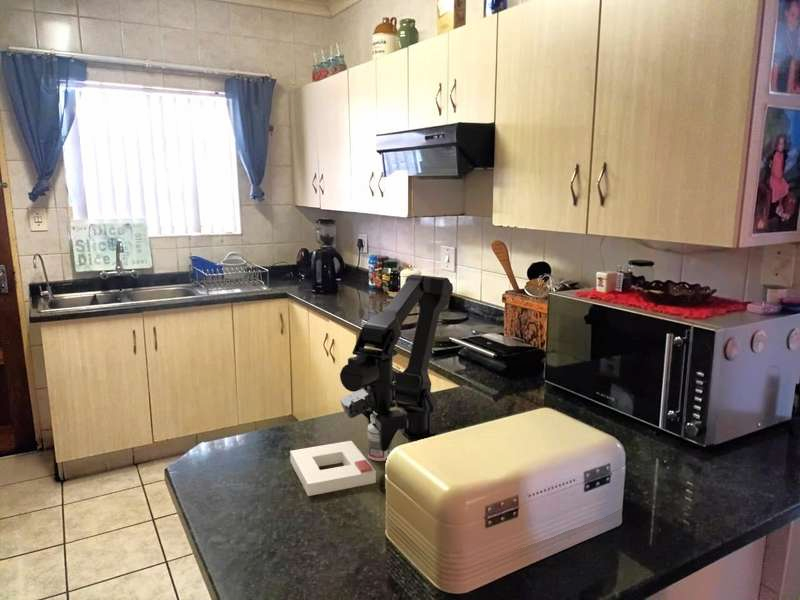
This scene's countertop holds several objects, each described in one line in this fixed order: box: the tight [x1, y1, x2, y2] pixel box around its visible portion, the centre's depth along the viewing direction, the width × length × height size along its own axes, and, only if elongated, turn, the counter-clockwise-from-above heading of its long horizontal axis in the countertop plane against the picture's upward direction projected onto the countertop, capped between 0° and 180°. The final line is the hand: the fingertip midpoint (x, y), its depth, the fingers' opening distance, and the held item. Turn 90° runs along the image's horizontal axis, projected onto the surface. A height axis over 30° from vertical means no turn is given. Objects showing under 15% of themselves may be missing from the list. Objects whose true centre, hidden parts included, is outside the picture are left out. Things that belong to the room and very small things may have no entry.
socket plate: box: [289, 440, 377, 497], centre depth 122 cm, size 14×16×3 cm
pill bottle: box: [367, 413, 393, 462], centre depth 129 cm, size 5×5×10 cm
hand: (379, 445), depth 130 cm, fingers closed on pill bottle, 5 cm apart
